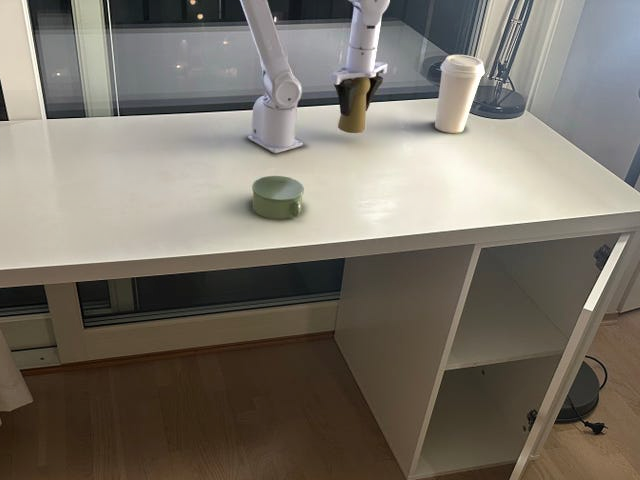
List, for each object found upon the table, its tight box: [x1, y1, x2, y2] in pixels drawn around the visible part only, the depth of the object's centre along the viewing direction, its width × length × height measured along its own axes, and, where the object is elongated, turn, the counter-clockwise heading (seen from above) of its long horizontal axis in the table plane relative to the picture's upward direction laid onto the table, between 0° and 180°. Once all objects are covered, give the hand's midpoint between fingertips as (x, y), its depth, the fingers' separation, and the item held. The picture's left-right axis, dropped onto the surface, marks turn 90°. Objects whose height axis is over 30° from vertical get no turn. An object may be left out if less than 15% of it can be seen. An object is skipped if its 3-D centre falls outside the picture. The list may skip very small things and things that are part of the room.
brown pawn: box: [337, 77, 370, 134], centre depth 150 cm, size 6×6×11 cm
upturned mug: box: [251, 175, 305, 220], centre depth 129 cm, size 11×9×4 cm
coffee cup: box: [434, 54, 485, 134], centre depth 158 cm, size 10×10×15 cm
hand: (353, 112), depth 151 cm, fingers closed on brown pawn, 5 cm apart
